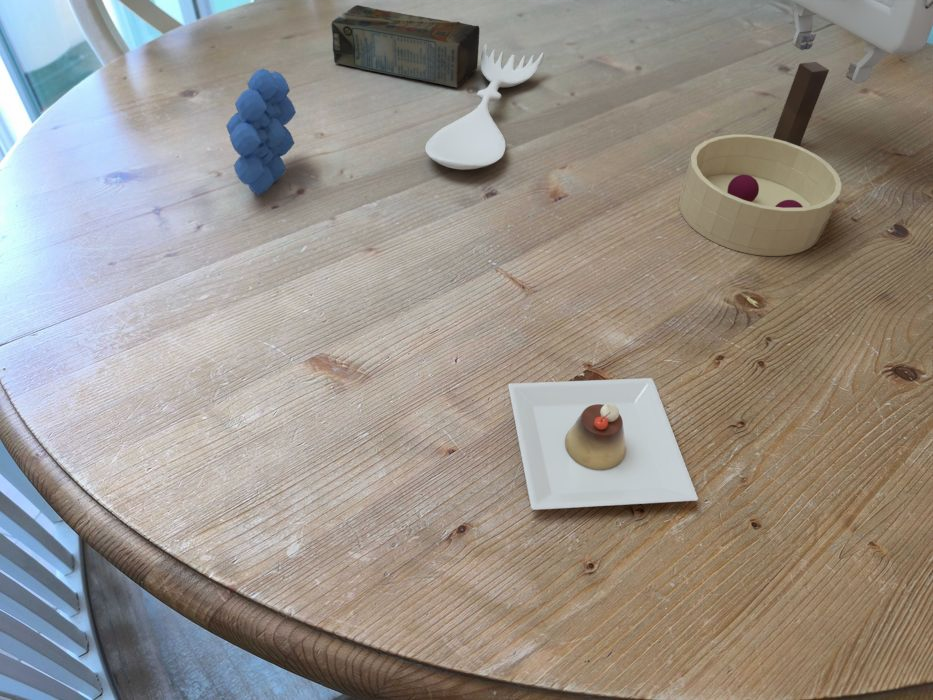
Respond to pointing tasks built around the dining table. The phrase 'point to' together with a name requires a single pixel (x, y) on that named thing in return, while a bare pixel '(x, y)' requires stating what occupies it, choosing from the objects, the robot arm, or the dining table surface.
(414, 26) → the beverage carton
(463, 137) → the spoon
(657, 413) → the dessert
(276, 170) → the grapes
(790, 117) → the stick
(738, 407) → the dining table surface
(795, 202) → the berry
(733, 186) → the berry
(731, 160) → the bowl
